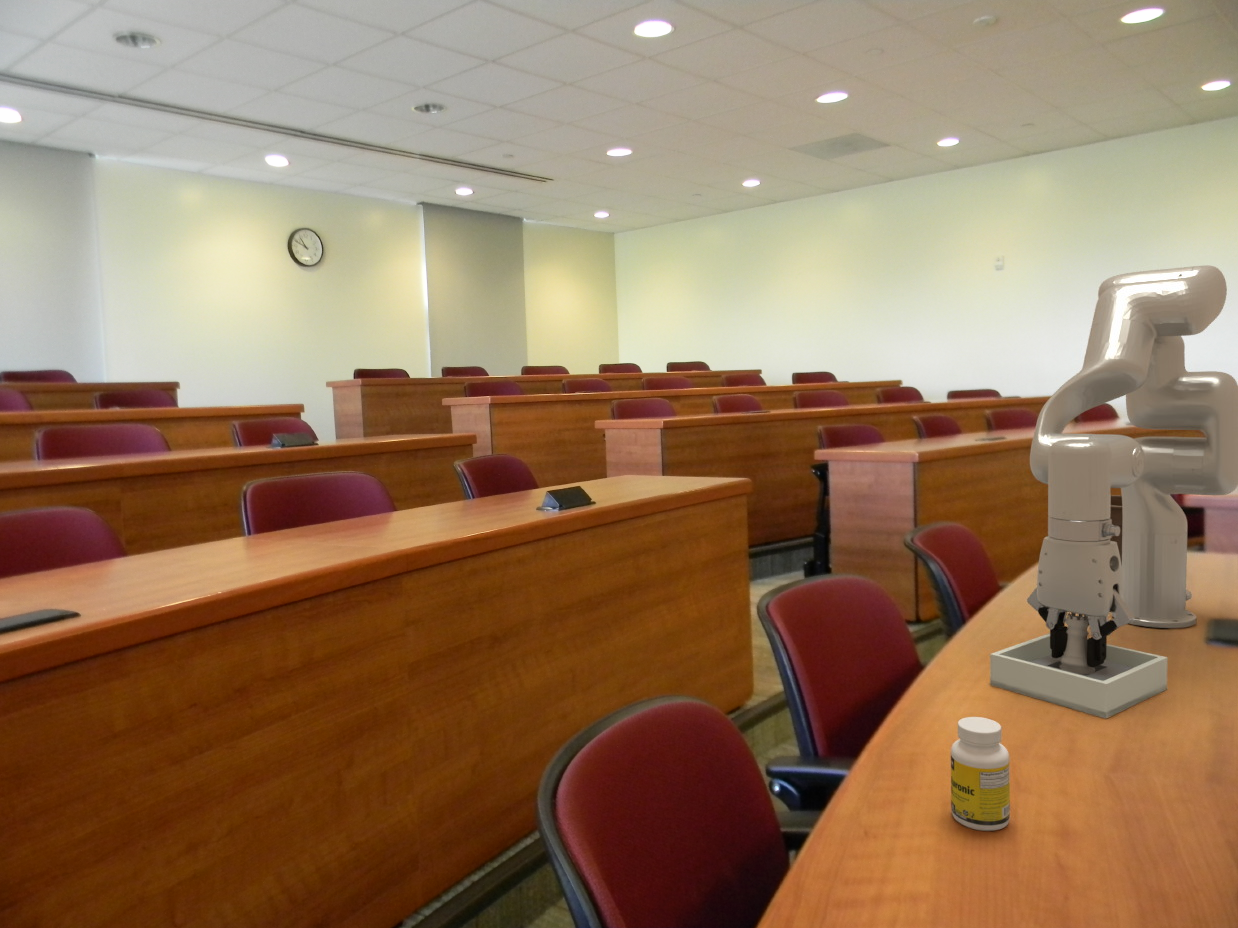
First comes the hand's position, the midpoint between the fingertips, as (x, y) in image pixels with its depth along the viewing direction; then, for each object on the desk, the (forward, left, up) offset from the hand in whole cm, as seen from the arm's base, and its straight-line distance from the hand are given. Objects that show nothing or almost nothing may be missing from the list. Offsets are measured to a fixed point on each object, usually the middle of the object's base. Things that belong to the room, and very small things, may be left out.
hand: (1077, 659), depth 121 cm
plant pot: (-68, -28, -4) cm, 74 cm away
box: (0, 0, -4) cm, 4 cm away
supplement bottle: (+42, +13, -4) cm, 44 cm away
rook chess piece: (0, 0, -2) cm, 2 cm away
